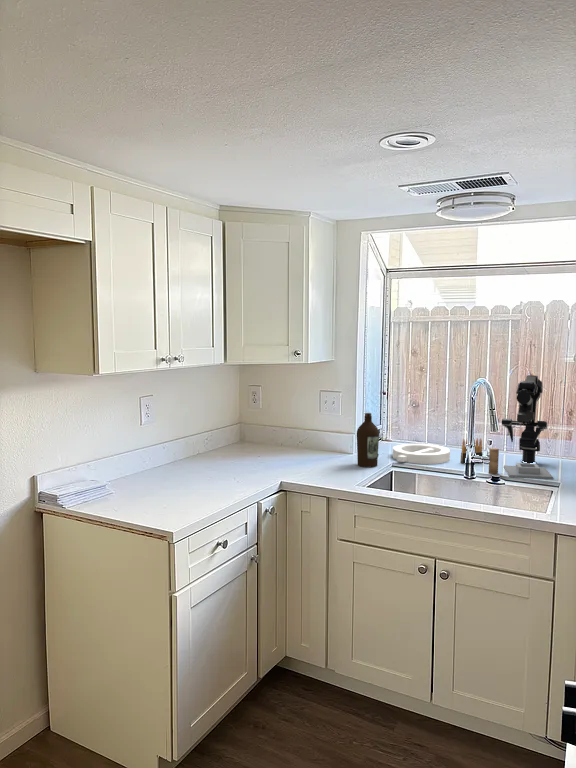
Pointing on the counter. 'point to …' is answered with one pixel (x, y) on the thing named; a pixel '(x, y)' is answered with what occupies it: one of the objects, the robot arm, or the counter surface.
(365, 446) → the olive oil
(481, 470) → the counter surface
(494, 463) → the walnut pin
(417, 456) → the ring with crossbar
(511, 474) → the holder
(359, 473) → the counter surface
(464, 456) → the ammunition clip
